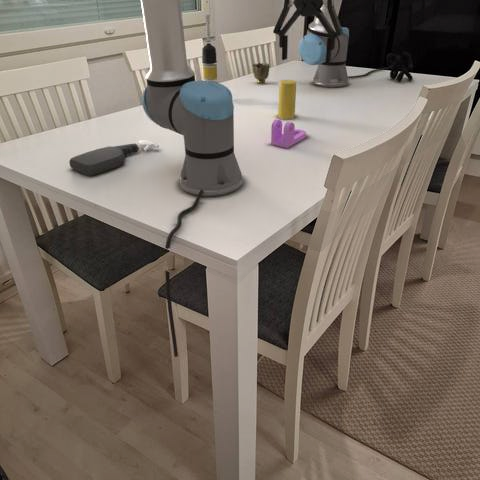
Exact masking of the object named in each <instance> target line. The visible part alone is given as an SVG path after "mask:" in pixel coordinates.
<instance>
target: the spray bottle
mask: <svg viewBox="0 0 480 480" xmlns="http://www.w3.org/2000/svg"><path fill="white" fill-rule="evenodd" d="M159 148H160V145H159V144H158V143H155V142H151V141H148V140H144V139H139V140H138V141H137V142H135V143H129V144H128V143H126V144H122V145H113V146H105V147H100V148H97V149H94V150H90V151H87V152H83V153H81V154H78V155H74V156H73V157H70V159H69V161H68V162H69V167H70V168H71V169H72V170H74V171H75V172H78V173H81V174H83V175H85V176H89V177H90V176H91V177H92V176H95V175H99V174H102V173H105V172H107V171H110V170H113V169H116V168H118V167H120V166H122V165H123V164H124V163H125V158H126V156H127V155H131V154H133V153H138V151H140V150H143V151H144V152H146V151H147V150H149V149H159Z"/></svg>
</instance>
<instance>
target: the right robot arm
mask: <svg viewBox="0 0 480 480" xmlns="http://www.w3.org/2000/svg"><path fill="white" fill-rule="evenodd" d="M342 2H343V0H334V8H335V11H336V14H337V17H338V18H339V13H340V10H341V5H342ZM321 10H322V12H323V14H324V16H325V17H326V19H327V20H328V22H329V23H330V25H331V26H332V28H333V29H334V31H335V28H334V26H333V23H332V20H331V18H330V15H329V12H328V8H326V7H325V5H324V4H323V6H322V7H321ZM341 28H342V31H343V33H342V34H341V35H340V36H337V37H336V42H335V49H334V50H331V61H330V62H328V63H326V51H327V38H329V37H330V36H329V34H328V33H327V31H326V30H325V28H324V27H323V25H322V24H321V22H320V21H319V19H318V18H317V17H316V16H314V18H313V21H311V22H310V23H309V24H308V27H307V31H306V35H304V36H303V37H302V38H301V40H300V41H299V44H298V52H299V56H300V57H301V59H302V61H303V62H304V63H306V64H307V65H308V66H309V65H310V66H317V68H316V71H315V73H314V75H313V80H312V84H313V85H314V86H317V87H321V88H343V87H346V86H348V85H349V79H356V78H363V77H366V76H368V75H369V74H371V73H374V72H378V71H385V70H390V69H392V68H391V66H387V67H381V68H375V69H372V70H370V71H368V72H366V73H364V74H359V75H358V74H357V75H348V70H347V55H348V47H349V39H350V30H349V28H348V27H343V26H341ZM335 32H336V31H335Z"/></svg>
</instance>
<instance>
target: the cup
mask: <svg viewBox="0 0 480 480" xmlns="http://www.w3.org/2000/svg"><path fill="white" fill-rule="evenodd" d="M270 66H271V65H270V63H265V64H264V63H263V62H262V63H260V62H258V63H253V64H252V71H253V76H254V79H256V82H257V84H259V85H260V84H261V85H262V84H265V83H266V80H267V79H268V77H269V74H270Z"/></svg>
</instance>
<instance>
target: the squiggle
mask: <svg viewBox="0 0 480 480" xmlns="http://www.w3.org/2000/svg"><path fill="white" fill-rule="evenodd" d="M401 57H402V59H401ZM391 59H392V60H391ZM393 60H394V61H393ZM385 61H386V64H387V67H390V66H391V68H390V69H391V70H390V72H389V78H390V79H391V80H395V79H396V81H397V82H399V83H400V82H402V81H403V79H404V76H406V78H407V80H408V81H412V80H413V79H414V77H413V75H412V74H411V73H410V72H409V71H410V70H412V69H413V68H414V64H413V61H412V57H411V54H410V53H409V52H408V51H403V53H402V54H401V55H396V54H394V53H392V52H390V53H387V55H386V57H385ZM406 62H407V65H408V66H407V67H405V66H404V65H405V64H406ZM400 70H401V71H400Z"/></svg>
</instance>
